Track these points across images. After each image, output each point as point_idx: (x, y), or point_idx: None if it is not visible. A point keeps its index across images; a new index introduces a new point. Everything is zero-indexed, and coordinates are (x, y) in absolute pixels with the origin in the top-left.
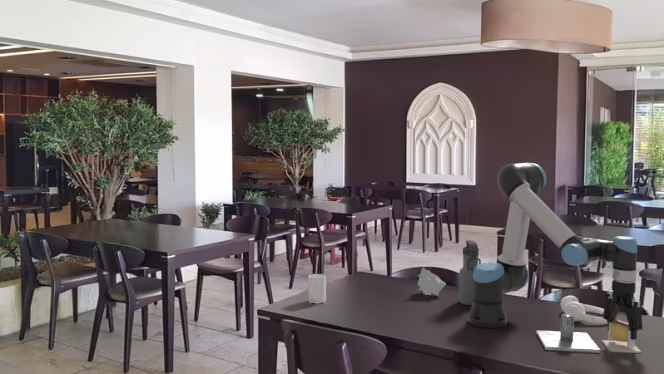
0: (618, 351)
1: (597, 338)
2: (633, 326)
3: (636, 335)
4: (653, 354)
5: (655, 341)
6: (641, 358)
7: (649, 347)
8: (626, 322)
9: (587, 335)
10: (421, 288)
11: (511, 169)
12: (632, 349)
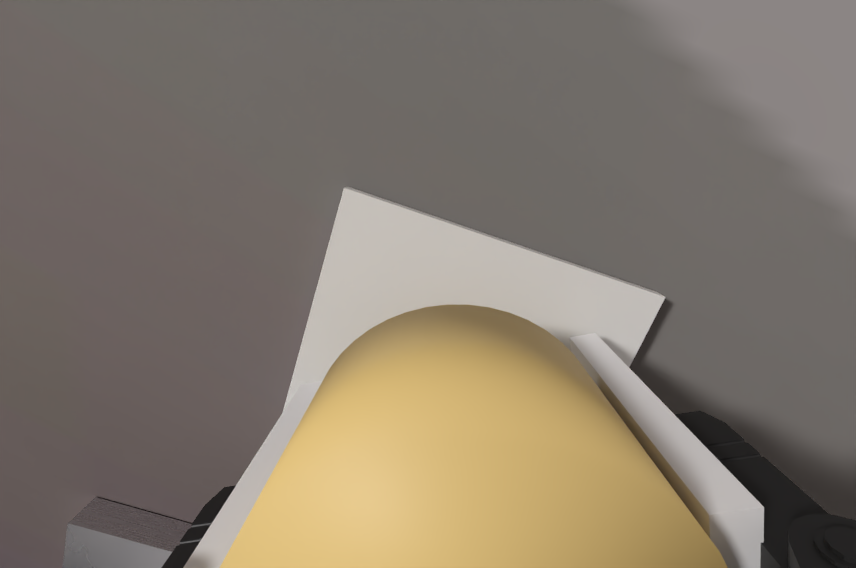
0: None
1: (170, 439)
2: (682, 519)
3: (760, 458)
4: (731, 180)
5: None
6: (774, 384)
7: (517, 52)
8: (324, 479)
9: (156, 556)
10: None
11: None
12: None
